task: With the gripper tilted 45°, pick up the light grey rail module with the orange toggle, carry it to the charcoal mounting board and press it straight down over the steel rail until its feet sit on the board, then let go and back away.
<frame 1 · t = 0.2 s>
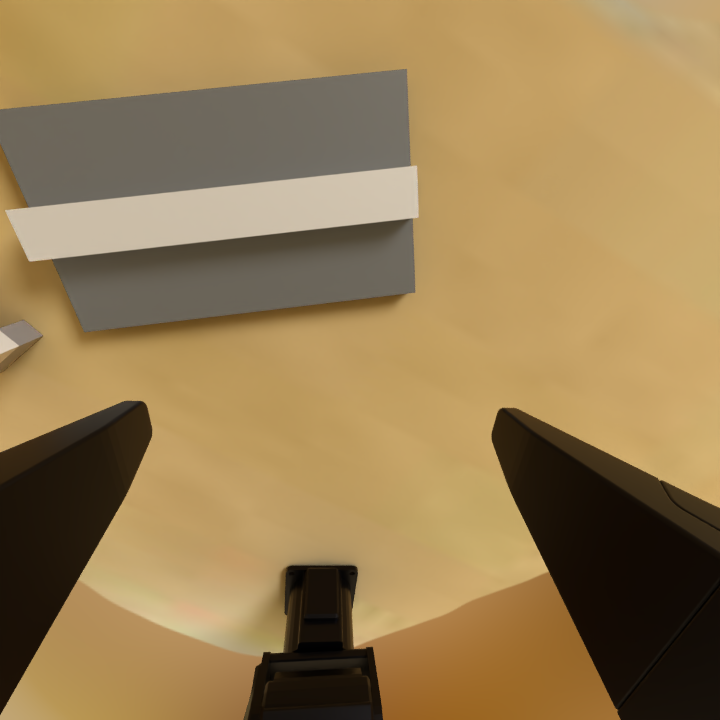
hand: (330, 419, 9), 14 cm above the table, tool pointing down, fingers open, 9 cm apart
mounting board: (234, 213, 20), on the table
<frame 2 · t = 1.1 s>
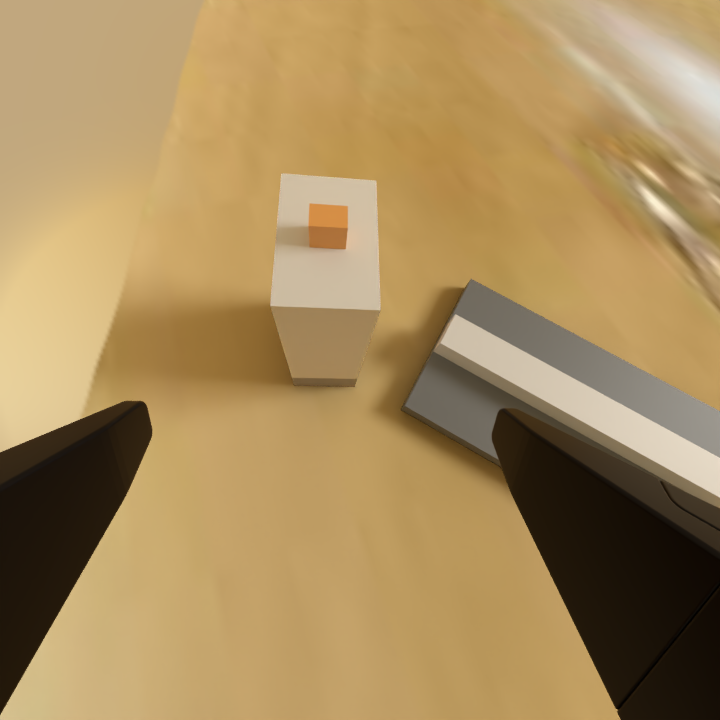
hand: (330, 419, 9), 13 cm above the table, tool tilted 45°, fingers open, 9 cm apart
mounting board: (562, 414, 24), on the table
rail module: (325, 342, 24), on the table
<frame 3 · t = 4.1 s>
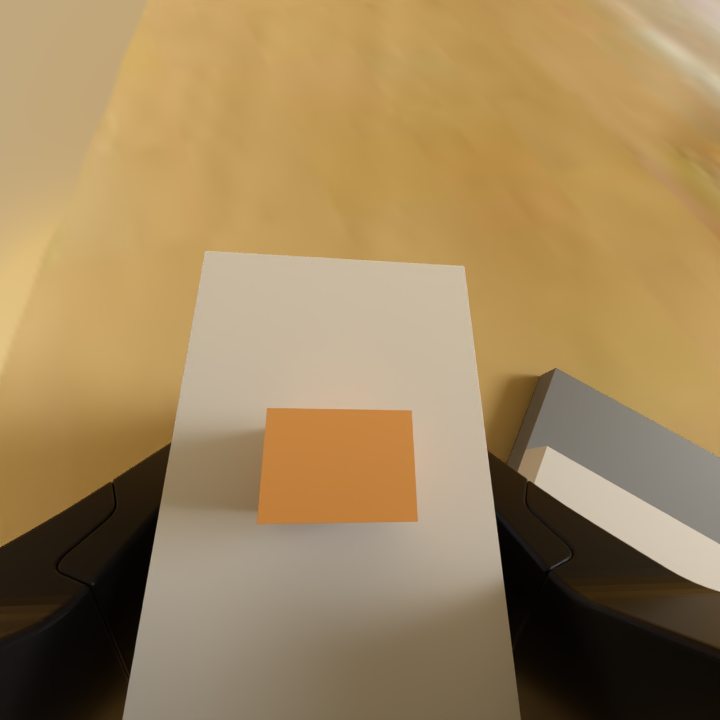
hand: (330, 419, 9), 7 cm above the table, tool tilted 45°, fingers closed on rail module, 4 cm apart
mounting board: (715, 600, 15), on the table
rail module: (326, 479, 15), on the table, touching gripper
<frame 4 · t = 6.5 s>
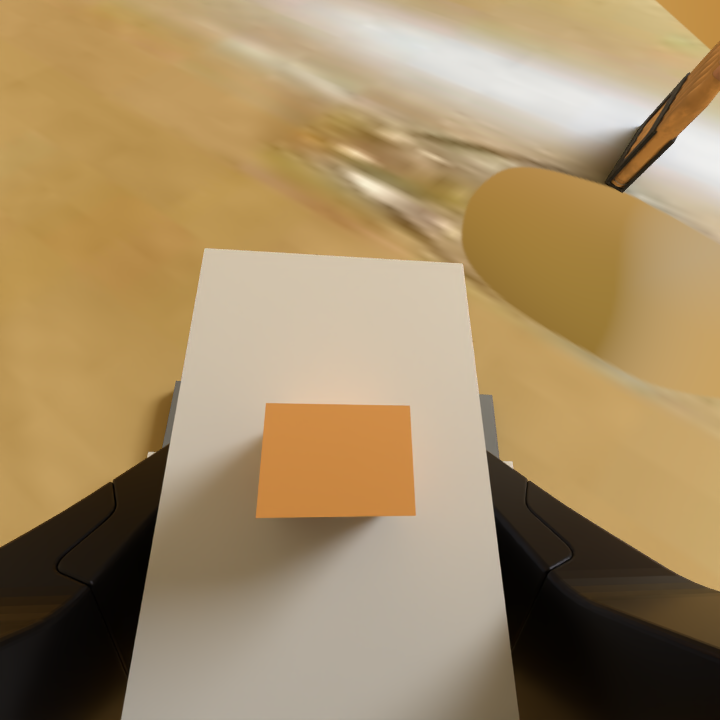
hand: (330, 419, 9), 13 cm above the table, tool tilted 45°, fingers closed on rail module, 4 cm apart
mounting board: (336, 480, 21), on the table
rail module: (325, 478, 15), point 7 cm above the table, touching gripper
ammunition clip: (630, 159, 34), on the table
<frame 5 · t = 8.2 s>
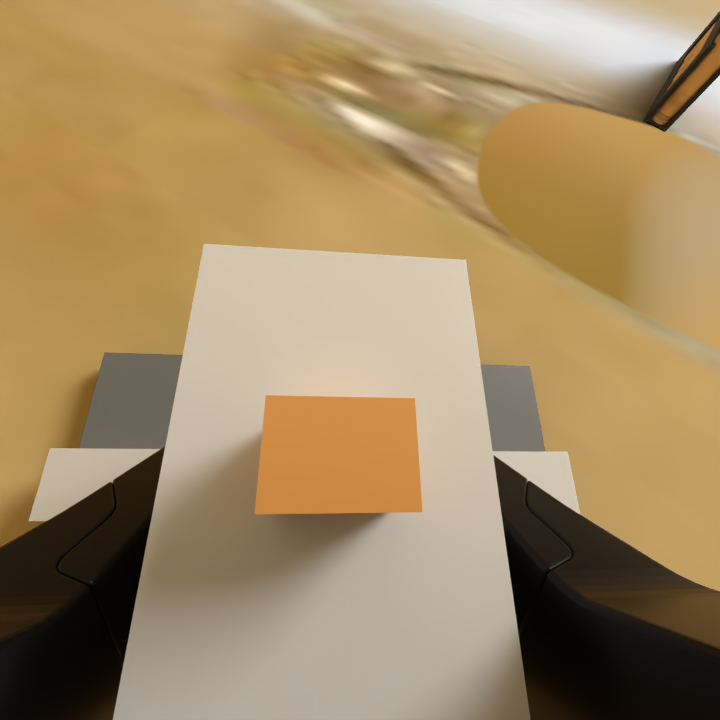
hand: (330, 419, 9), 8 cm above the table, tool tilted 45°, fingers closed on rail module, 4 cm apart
mounting board: (325, 483, 16), on the table
rail module: (325, 484, 14), point 1 cm above the table, touching gripper, mounting board
ammunition clip: (669, 97, 29), on the table
when the fingers open (8 cm above the table, at t = 9.2 s): rail module stays where it is, resting on mounting board.
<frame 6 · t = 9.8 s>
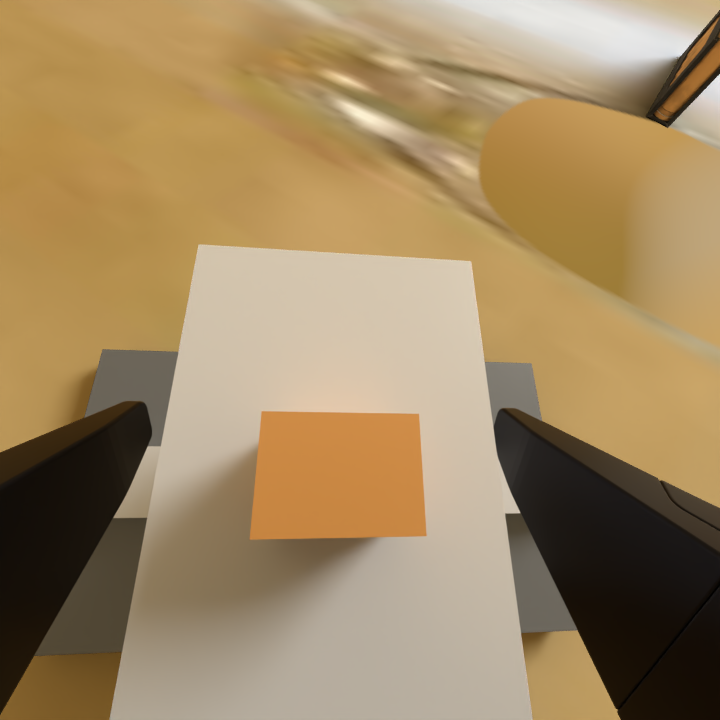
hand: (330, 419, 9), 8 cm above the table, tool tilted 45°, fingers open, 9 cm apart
mounting board: (326, 481, 15), on the table
rail module: (326, 482, 14), point 1 cm above the table, touching mounting board
ammunition clip: (672, 92, 29), on the table
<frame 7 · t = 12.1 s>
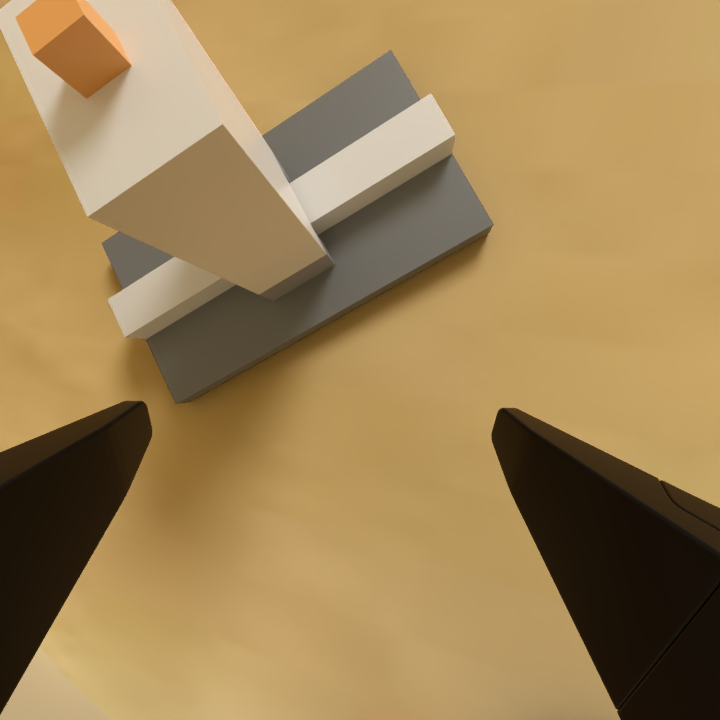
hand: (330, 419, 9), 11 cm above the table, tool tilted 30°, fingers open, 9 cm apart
mounting board: (286, 242, 20), on the table
rail module: (278, 235, 19), point 1 cm above the table, touching mounting board
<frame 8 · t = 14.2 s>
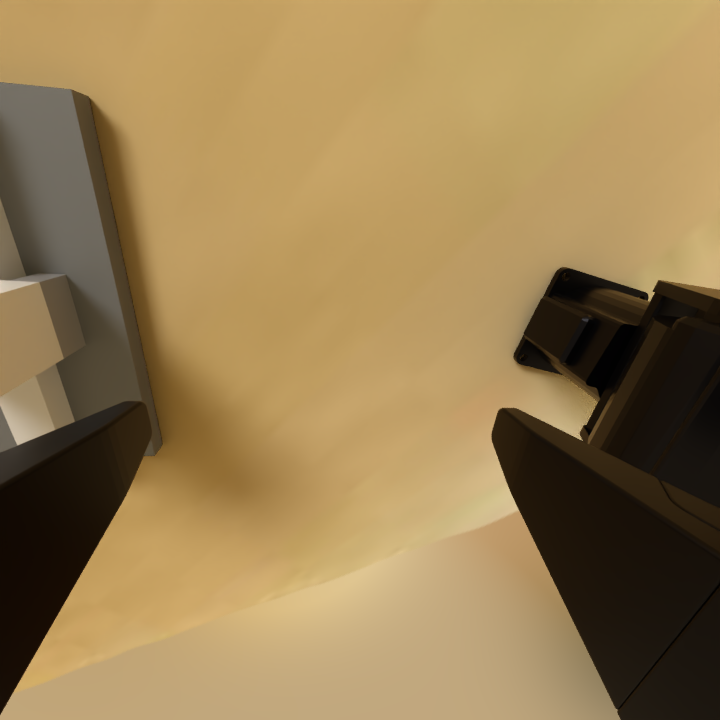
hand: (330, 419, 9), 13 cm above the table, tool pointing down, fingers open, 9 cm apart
mounting board: (30, 302, 20), on the table
rail module: (14, 308, 18), point 1 cm above the table, touching mounting board
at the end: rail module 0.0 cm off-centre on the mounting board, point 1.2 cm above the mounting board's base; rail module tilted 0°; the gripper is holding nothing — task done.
